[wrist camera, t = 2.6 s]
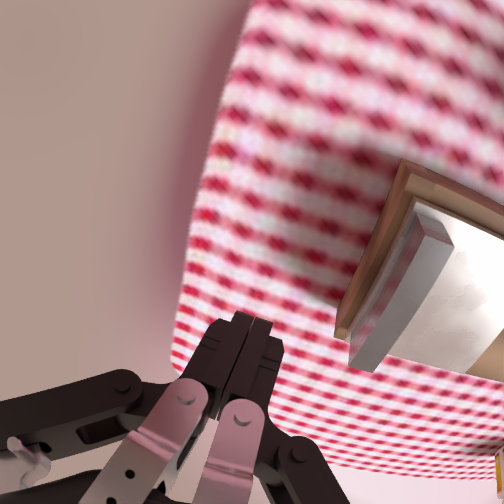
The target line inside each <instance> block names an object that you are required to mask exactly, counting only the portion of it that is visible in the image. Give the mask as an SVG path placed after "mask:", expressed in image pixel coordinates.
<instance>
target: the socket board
mask: <svg viewBox="0 0 504 504" xmlns="http://www.w3.org/2000/svg"><path fill="white" fill-rule="evenodd" d="M413 196H415V197H417V198H420V199H422V200H424V201H427V202H429V203H432V204H434V205H436V206H439V207H441V208H443V209H446V210H448V211H450V212H452V213H454V214H457V215H459V216H461V217H463V218H465V219H468V220H470V221H472V222H474V223H476V224H478V225H480V226H482V227H484V228H486V229H488V230H490V231H492V232H494V233H496V234H498V235H500V236H502V237H504V206H502V205H500V204H498V203H496V202H495V201H493V200H491V199H489V198H487V197H485V196H483V195H481V194H479V193H477V192H475V191H473V190H471V189H469V188H467V187H465V186H463V185H461V184H459V183H457V182H455V181H453V180H451V179H448V178H446V177H444V176H442V175H440V174H437V173H435V172H433V171H431V170H428V169H426V168H424V167H421V166H419V165H417V164H414V163H412V162H409V161H407V160H404V159H402V160H401V162H400V165H399V168H398V171H397V173H396V176H395V179H394V181H393V184H392V187H391V189H390V192H389V194H388V197H387V199H386V202H385V204H384V207H383V209H382V212H381V214H380V217H379V219H378V221H377V224H376V226H375V228H374V231H373V233H372V236H371V238H370V240H369V242H368V245H367V247H366V249H365V251H364V254H363V256H362V258H361V260H360V263H359V265H358V267H357V269H356V271H355V273H354V275H353V278H352V280H351V282H350V284H349V286H348V288H347V290H346V292H345V294H344V296H343V298H342V300H341V302H340V304H339V306H338V308H337V315H336V323H335V331H334V337H335V338H338V339H341V340H344V341H345V334H346V331H347V330H348V328H349V326H350V324H351V323H352V321H353V319H354V317H355V315H356V314H357V312H358V310H359V308H360V306H361V305H362V303H363V301H364V299H365V297H366V295H367V293H368V292H369V290H370V288H371V286H372V284H373V282H374V280H375V278H376V276H377V274H378V272H379V270H380V268H381V266H382V264H383V262H384V260H385V258H386V256H387V254H388V252H389V250H390V248H391V246H392V243H393V241H394V239H395V237H396V235H397V233H398V231H399V228H400V226H401V224H402V222H403V219H404V217H405V215H406V213H407V210H408V208H409V206H410V203H411V201H412V198H413ZM465 374H469V375H473V376H477V377H482V378H486V379H490V380H495V381H500V382H504V328H503V330H502V331H501V332H500V333H499V335H498V336H497V337H496V338H495V339H494V341H493V342H492V343H491V344H490V346H489V347H488V348H487V349H486V350H485V351H484V353H483V354H482V355H481V356H480V357H479V358H478V359H477V360H476V362H475V363H474V364H473V365H472V366H471V367H470V368H469V369H468V370H467V371H466V372H465Z"/></svg>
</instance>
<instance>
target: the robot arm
mask: <svg viewBox="0 0 504 504" xmlns="http://www.w3.org/2000/svg"><path fill="white" fill-rule="evenodd" d="M253 320H254V316H252V315H249V314H246V313H243V312H241V311H238V310H236V312H235V314H234V316H233V318H232V320H231V322H229V321H226V320H223V319H220V318H219V319H217V320H216V321H215V322H213V323H212V324H210V325H209V327H208V329H207V330H206V332H205V334H204V336H203V338H202V339H201V341H200V343H199V345H198V346H197V348H196V350H195V352H194V354H193V355H192V357H191V359H190V361H189V363H188V364H187V366H186V368H185V370H184V372H183V373H182V375H181V376H180V377H179V378H178V379H177V380H175V381H173V382H170V383H167V384H155V383H148V382H141V379H140V378H139V377H138V375H137V374H135V373H134V372H132V371H130V370H126V369H117V370H113V371H110V372H107V373H104V374H100V375H97V376H94V377H90V378H87V379H84V380H80V381H77V382H73V383H70V384H66V385H62V386H59V387H55V388H52V389H48V390H44V391H40V392H36V393H33V394H29V395H25V396H21V397H17V398H12V399H8V400H4V401H0V504H190V503H184V502H177V501H173V500H171V499H170V498H168V497H167V496H168V494H169V492H170V490H171V489H172V487H173V485H174V483H175V481H176V479H177V476H178V474H179V472H180V470H181V468H182V466H183V465H184V463H185V461H186V460H187V458H188V456H189V455H190V453H191V451H192V449H193V447H194V446H195V444H196V442H197V441H198V438H199V437H200V435H201V433H202V432H203V430H204V428H205V425H206V423H207V421H208V419H209V418H211V419H214V420H215V418H216V416H217V414H218V417H217V421H219V424H218V427H217V430H216V433H215V436H214V439H213V442H212V445H211V448H210V452H209V454H208V458H207V461H206V463H205V466H204V469H203V472H202V475H201V478H200V481H199V484H198V487H197V490H196V493H195V496H194V499H193V502H192V504H248V501H249V497H250V493H251V489H252V485H253V475H255V476H256V477H258V478H259V480H260V482H261V485H262V487H263V489H264V491H265V493H266V495H267V497H268V499H269V501H270V503H271V504H350V502H349V501H348V499H347V497H346V495H345V494H344V492H343V490H342V489H341V487H340V485H339V483H338V482H337V480H336V478H335V476H334V475H333V473H332V471H331V469H330V468H329V466H328V464H327V462H326V460H325V459H324V457H323V455H322V453H321V451H320V450H319V448H318V446H317V445H316V444H315V443H314V442H313V441H312V440H311V439H309V438H306V437H303V436H293V437H290V436H289V435H287V434H286V433H284V432H283V431H281V430H280V429H278V428H277V427H276V426H275V425H274V424H273V423H272V422H271V420H270V418H269V415H268V404H269V401H270V398H271V395H272V391H273V388H274V385H275V381H276V378H277V375H278V371H279V368H280V364H281V361H282V358H283V354H284V347H283V342H282V340H281V339H278V338H275V337H272V336H269V334H270V331H271V328H272V325H273V322H270V321H267V320H264V319H261V318H258V317H255V320H254V322H253ZM219 409H220V410H219ZM218 411H219V413H218ZM123 439H124V440H123ZM120 440H123V441H122V443H121V444H120V446H119V447H118V448H117V450H116V451H115V453H114V454H113V455H112V457H111V458H110V460H109V461H108V462H107V464H106V465H105V467H104V468H103V469H98V470H89V471H85V472H82V473H79V474H76V475H73V476H69V477H66V478H63V479H60V480H56V481H52V482H49V483H45V484H42V485H38V486H34V487H33V485H34V483H35V482H36V481H38V480H39V479H42V478H44V477H45V476H47V475H48V473H49V472H50V469H51V461H53V460H57V459H61V458H65V457H68V456H72V455H75V454H78V453H82V452H86V451H89V450H92V449H95V448H99V447H102V446H105V445H108V444H111V443H114V442H117V441H120Z"/></svg>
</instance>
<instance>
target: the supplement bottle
mask: <svg viewBox="0 0 504 504" xmlns="http://www.w3.org/2000/svg"><path fill="white" fill-rule="evenodd" d="M495 464H496V476H497V496H498V498H499V499H503V502H502V504H504V446H502V447H501V448H500V449H499V450H498V451H497V452H496V454H495Z"/></svg>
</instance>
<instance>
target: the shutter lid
mask: <svg viewBox="0 0 504 504" xmlns="http://www.w3.org/2000/svg"><path fill="white" fill-rule="evenodd" d="M503 328H504V237H502V236H500V235H498V234H496V233H494V232H492V231H490V230H488V229H486V228H484V227H482V226H480V225H478V224H476V223H474V222H472V221H470V220H468V219H465V218H463V217H461V216H459V215H457V214H454V213H452V212H450V211H448V210H446V209H443V208H441V207H439V206H436V205H434V204H432V203H429V202H427V201H424V200H422V199H420V198H417V197H415V196H413V198H412V201H411V203H410V206H409V208H408V210H407V213H406V215H405V217H404V219H403V222H402V224H401V226H400V228H399V231H398V233H397V235H396V237H395V239H394V241H393V243H392V246H391V248H390V250H389V252H388V254H387V256H386V258H385V260H384V262H383V264H382V266H381V268H380V270H379V272H378V274H377V276H376V278H375V280H374V282H373V284H372V286H371V288H370V290H369V292H368V293H367V295H366V297H365V299H364V301H363V303H362V305H361V306H360V308H359V310H358V312H357V314H356V315H355V317H354V319H353V321H352V323H351V324H350V326H349V328H348V330H347V331H346V334H345V342H348V343H350V351H349V362H348V366H349V367H353V368H356V369H360V370H363V371H367V372H371V373H373V371H374V370H375V369H376V368H377V366H378V365H379V364H380V362H381V361H382V360H383V359H384V357H385V356H386V355H387V354H389V355H393V356H396V357H400V358H404V359H407V360H411V361H415V362H418V363H422V364H426V365H430V366H434V367H438V368H441V369H445V370H449V371H453V372H458V373H462V374H465V372H466V371H467V370H468V369H469V368H470V367H471V366H472V365H473V364H474V363H475V362H476V360H477V359H478V358H479V357H480V356H481V355H482V354H483V353H484V351H485V350H486V349H487V348H488V347H489V346H490V344H491V343H492V342H493V341H494V339H495V338H496V337H497V336H498V335H499V333H500V332H501V331H502V330H503Z"/></svg>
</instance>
